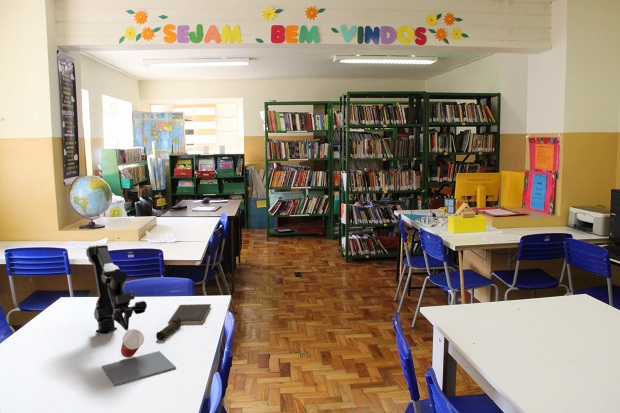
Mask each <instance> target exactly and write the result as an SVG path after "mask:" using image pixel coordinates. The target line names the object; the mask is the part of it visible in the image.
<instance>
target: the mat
mask: <svg viewBox="0 0 620 413" xmlns="http://www.w3.org/2000/svg"><path fill="white" fill-rule="evenodd" d="M101 368H102V369H103V371H104V372H105V374H106V375H107V377H108V378H109V380H110V381H111V383H112V384H113V386H115V387H116V386H120V385H123V384H126V383H130V382H135V381H137V380H141V379H144V378H148V377H152V376H155V375H159V374H161V373H165V372H168V371H169V372H170V371H172V370H176V369H177V367H176V365H174V364H173V363H172V362H171V360H169V359H168V358H167V356H165V355H164V354H163V353H162V352H161V351H160V350H158V351H154V352H153V351H152V352H149V353H147V354H141V355H139V356H135V357H134V356H133V357H129V358H127V359H123V360H119V361H115V362H112V363H108V364H107V363H106V364H104V365H101Z"/></svg>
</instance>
